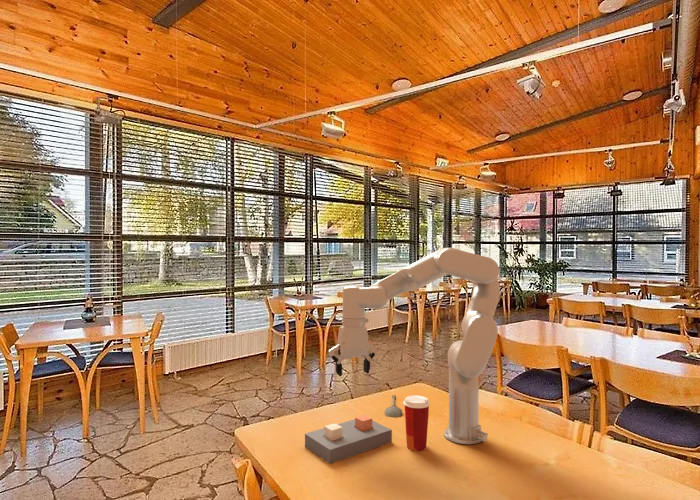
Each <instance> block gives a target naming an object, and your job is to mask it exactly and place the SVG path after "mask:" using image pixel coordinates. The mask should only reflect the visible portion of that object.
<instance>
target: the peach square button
mask: <svg viewBox="0 0 700 500" xmlns="http://www.w3.org/2000/svg"><path fill="white" fill-rule="evenodd" d="M354 419H355V428H357V429H359V430H361V431H365V430H369V429H372V420H373V417H370V416H368V415H365V414H363V415H358V416H355V418H354Z"/></svg>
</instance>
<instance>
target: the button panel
mask: <svg viewBox="0 0 700 500" xmlns="http://www.w3.org/2000/svg"><path fill="white" fill-rule="evenodd" d="M336 424H337V425H339V426H341V427H342V438H340V439H337V440H333V441H330V440H329V439H327V438H325V437H324V427H323V428H320V429H316V430H313V431H310V432H306V433H304V448H307V449H308V450H309V451H311V452H312V453H314V454H315V455H316V456H318V457H320V459H322V460H324V461H326V462H327V463H329V464H333V463H336V462H339V461H342V460H344V459H347V458H350V457H353V456H356V455H359V454H361V453H365V452H367V451H371V450H373V449H377V448H380V447H383V446H385V445H387V444H390V443H392V442H393V440H392V439H393V437H392V436H393V435H392V434H393V433H392V432H393V430H392V429H391V428H389V427H387V426H385V425H383V424H381V423H378V422H376V421H374V420H373V419H372V429H369V430H365V431H361V430H359V429H357V428H355V418H354V419H352V420H349V421H344V422H341V423H336Z"/></svg>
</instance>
